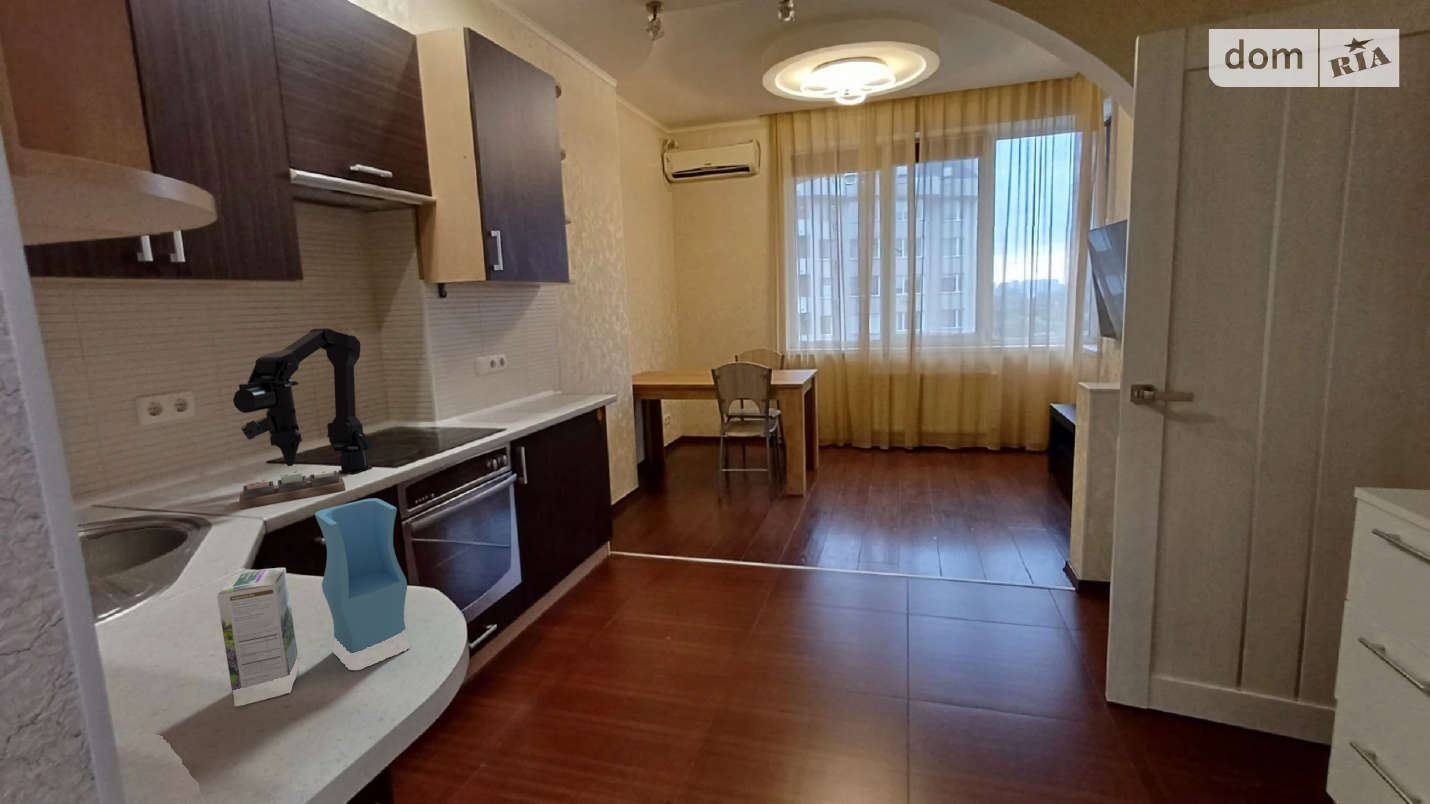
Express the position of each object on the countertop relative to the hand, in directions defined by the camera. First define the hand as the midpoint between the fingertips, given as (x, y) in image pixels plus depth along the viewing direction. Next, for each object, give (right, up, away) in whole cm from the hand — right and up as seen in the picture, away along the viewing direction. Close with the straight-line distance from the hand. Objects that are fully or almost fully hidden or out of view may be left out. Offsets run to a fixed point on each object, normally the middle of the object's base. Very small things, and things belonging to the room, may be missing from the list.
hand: (290, 465), depth 157 cm
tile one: (+6, -4, +5) cm, 9 cm away
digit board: (0, -8, +1) cm, 8 cm away
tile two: (0, -4, +1) cm, 4 cm away
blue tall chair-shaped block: (+62, -18, -73) cm, 98 cm away
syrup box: (+54, -19, -81) cm, 99 cm away
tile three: (-6, -6, -3) cm, 9 cm away
